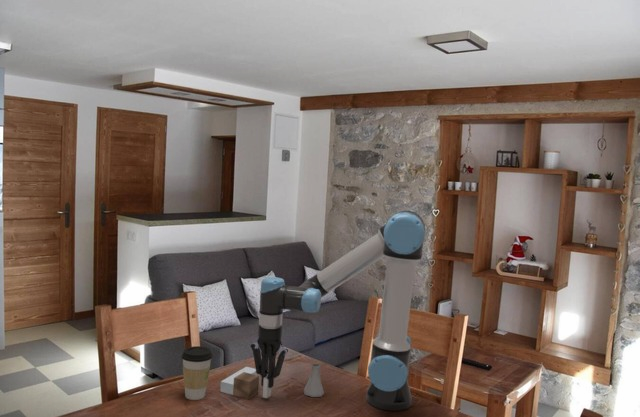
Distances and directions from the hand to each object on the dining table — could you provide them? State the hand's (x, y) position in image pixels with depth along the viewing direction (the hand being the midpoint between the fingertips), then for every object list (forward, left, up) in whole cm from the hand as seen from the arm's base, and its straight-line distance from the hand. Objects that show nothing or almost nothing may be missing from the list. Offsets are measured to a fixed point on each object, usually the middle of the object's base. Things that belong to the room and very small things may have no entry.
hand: (266, 396), depth 176 cm
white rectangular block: (+13, -5, -1) cm, 14 cm away
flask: (-11, -13, -1) cm, 17 cm away
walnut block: (+8, 0, -1) cm, 8 cm away
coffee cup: (+21, +10, -1) cm, 23 cm away
